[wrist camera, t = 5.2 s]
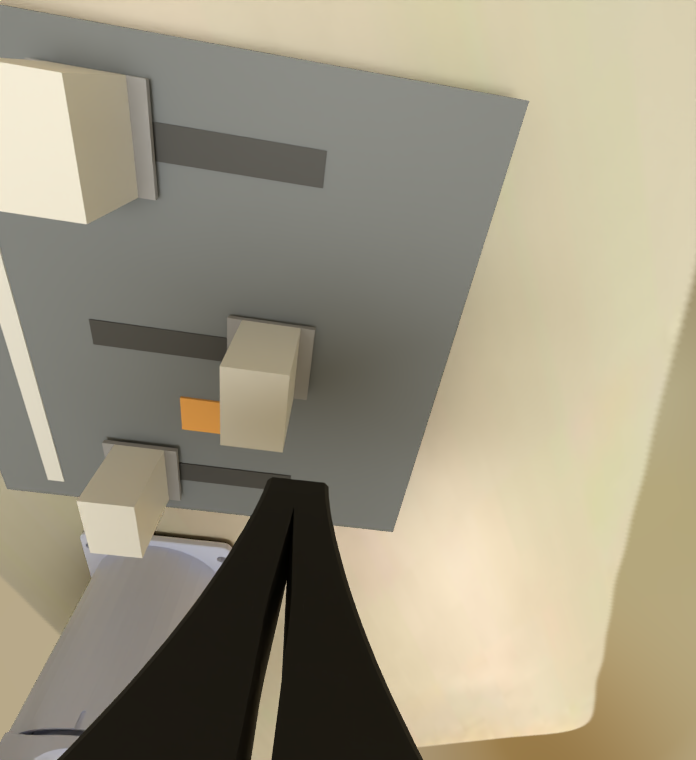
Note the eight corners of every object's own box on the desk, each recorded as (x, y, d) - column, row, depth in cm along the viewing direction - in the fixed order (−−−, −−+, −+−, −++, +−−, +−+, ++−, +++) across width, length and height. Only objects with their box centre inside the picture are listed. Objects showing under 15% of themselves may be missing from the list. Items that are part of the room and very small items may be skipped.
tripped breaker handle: (306, 396, 17) (298, 454, 15) (228, 386, 17) (204, 443, 14) (315, 327, 16) (307, 377, 13) (228, 315, 15) (201, 363, 13)
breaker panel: (390, 507, 23) (393, 533, 22) (27, 465, 22) (6, 490, 21) (512, 99, 13) (530, 101, 12) (-135, -19, 12) (-196, -31, 11)
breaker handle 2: (181, 497, 20) (155, 559, 18) (113, 489, 20) (77, 551, 18) (177, 448, 19) (148, 508, 16) (104, 439, 19) (62, 499, 16)
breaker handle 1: (158, 198, 13) (108, 227, 11) (53, 182, 13) (-24, 207, 10) (148, 78, 12) (87, 76, 9) (29, 57, 12) (-70, 50, 9)
